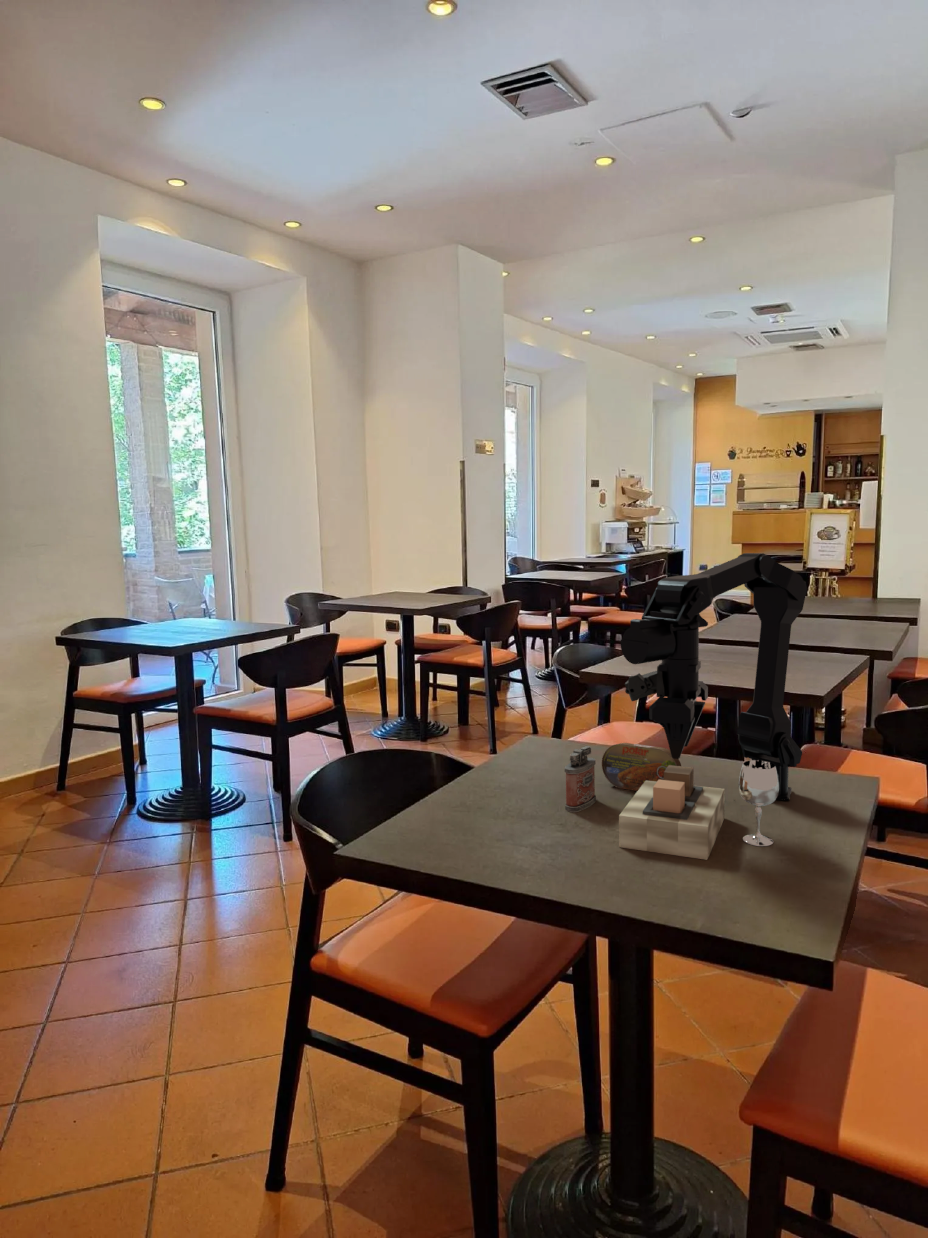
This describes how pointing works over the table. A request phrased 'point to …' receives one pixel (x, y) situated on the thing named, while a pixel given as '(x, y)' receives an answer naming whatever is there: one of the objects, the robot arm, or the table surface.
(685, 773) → the peg
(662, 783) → the peg
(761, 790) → the wineglass
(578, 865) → the table surface
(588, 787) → the lighter
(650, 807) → the board
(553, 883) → the table surface
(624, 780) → the tin
